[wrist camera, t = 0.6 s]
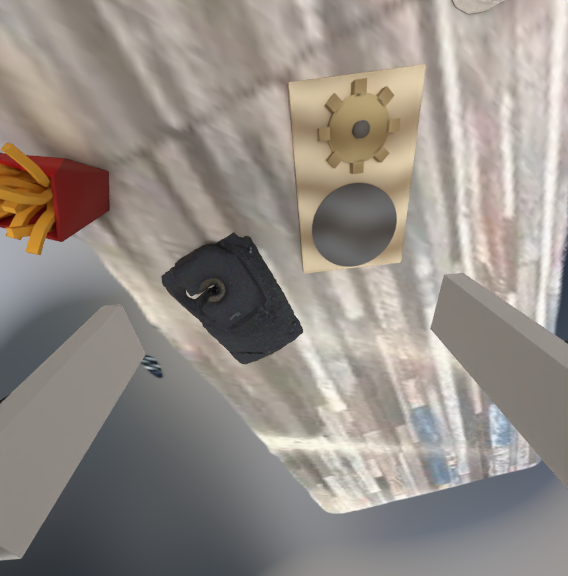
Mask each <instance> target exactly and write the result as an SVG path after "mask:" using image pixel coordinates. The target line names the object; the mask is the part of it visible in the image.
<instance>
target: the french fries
mask: <svg viewBox="0 0 568 576" xmlns="http://www.w3.org/2000/svg"><path fill="white" fill-rule="evenodd" d="M1 150H2V151H3V152H5V153H6V154H3V153H0V227H2V228H6V229H7V233H6V236H8V237H11V238H15V239H19V240H21V238H22V237H26V236H30V238H29V241H28V245H27V248H26V252H28V253H32V254H37V255H41V251H42V248H43V244H44V241H45V238H48V239H52V240H55V241H60V242H63V241H64V240H66V239H67V238H69V237H70V236H72V235H73V234H75V233H76V232H78V231H79V230H81V229H82V228H84V227H85V226H87V225H88V224H90V223H91V222H93V221H94V220H96V219H97V218H99V217H100V216H102V215H103V214H105V213H106V212H108V211H109V171H105V170H102V169H99V168H95V167H92V166H89V165H85V164H82V163H79V162H75V161H72V160H68V159H65V158H53V157H41V156H28V155H25V154H24V153H23V152H21V151H20V150H19V149H18V148H16V147H15V146H14V145H13V144H10V143H6V144H5V145H4V146H3V147H2V148H1Z"/></svg>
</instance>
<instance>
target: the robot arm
mask: <svg viewBox="0 0 568 576" xmlns="http://www.w3.org/2000/svg"><path fill="white" fill-rule="evenodd" d="M431 330H432V331H433V332H434V333H435V335H436V336H437V337H438V338H439V339H440V340H441V342H442V343H443V344H444V345H445V346H446V347H447V349H448V350H449V351H450V352H451V353H452V354H453V356H454V357H455V358H456V359H457V360H458V361H459V363H460V364H461V365H462V366H463V367H464V368H465V370H466V371H467V372H468V373H469V374H470V376H471V377H472V378H473V379H474V380H475V381H476V383H477V384H478V385H479V386H480V387H481V388H482V390H483V391H484V392H485V393H486V394H487V395H488V397H489V398H490V399H491V400H492V401H493V402H494V404H495V405H496V406H497V407H498V408H499V409H500V411H501V412H502V413H503V414H504V415H505V416H506V418H507V419H508V420H509V421H510V422H511V423H512V425H513V426H514V427H515V428H516V429H517V431H518V432H519V433H520V434H521V435H522V436H523V438H524V439H525V440H526V441H527V442H528V443H529V445H530V446H531V447H532V448H533V449H534V450H535V452H536V453H537V454H538V455H539V456H540V457H541V459H542V460H543V461H544V462H545V463H546V464H547V466H548V467H549V468H550V469H551V470H552V471H553V473H554V474H555V475H556V476H557V477H558V478H559V480H560V481H561V482H562V483H563V484H564V485H565V487H566V488H567V489H568V341H563V340H561V339H560V338H558V337H557V336H556V335H554V334H553V333H551V332H550V331H548V330H547V329H545V328H544V327H542V326H541V325H539V324H538V323H536V322H535V321H533V320H532V319H530V318H529V317H527V316H526V315H524V314H523V313H522V312H520V311H519V310H517V309H516V308H514V307H513V306H511V305H510V304H508V303H507V302H505V301H504V300H502V299H501V298H499V297H498V296H496V295H495V294H493V293H492V292H490V291H489V290H488V289H486V288H485V287H483V286H482V285H480V284H479V283H477V282H476V281H474V280H473V279H471V278H470V277H468V276H467V275H465V274H464V273H459V274H448V275H444V278H443V281H442V285H441V289H440V293H439V297H438V301H437V305H436V309H435V313H434V317H433V321H432V325H431ZM144 356H145V352H144V350H143V348H142V346H141V344H140V342H139V340H138V338H137V336H136V333H135V332H134V329H133V327H132V325H131V323H130V321H129V319H128V317H127V315H126V313H125V311H124V308H123V306H122V305H121V304H120V305H109V306H103V307H102V308H100V309H99V310H98V311H97V313H95V314H94V315H93V316H92V317H91V318H90V319H89V320H88V321H87V322H86V323H85V324H84V325H83V326H81V327H80V328H79V330H77V331H76V332H75V333H74V334H73V335H72V336H71V337H70V338H69V339H68V340H67V341H66V342H65V343H64V344H63V345H62V346H60V347H59V348H58V349H57V350H56V351H55V352H54V353H53V354H52V355H51V356H50V357H49V358H48V359H47V360H46V361H45V362H44V363H43V364H42V365H41V366H39V367H38V368H37V369H36V370H35V371H34V372H33V373H32V374H31V375H30V376H29V377H28V378H27V379H26V380H25V381H24V382H23V383H22V384H20V386H18V387H17V388H16V389H15V390H14V391H13V392H12V393H11V394H9V395H8V396H6V397H5V398H3V399H2V400H0V560H7V559H20V558H22V556H23V555H24V553H25V552H26V550H27V548H28V546H29V545H30V543H31V541H32V540H33V538H34V537H35V535H36V533H37V532H38V530H39V528H40V527H41V525H42V524H43V522H44V520H45V519H46V517H47V515H48V514H49V512H50V510H51V509H52V507H53V505H54V504H55V502H56V501H57V499H58V497H59V496H60V494H61V492H62V490H63V489H64V487H65V486H66V484H67V482H68V481H69V479H70V478H71V476H72V474H73V473H74V471H75V469H76V468H77V466H78V464H79V463H80V461H81V459H82V458H83V456H84V455H85V453H86V451H87V450H88V448H89V446H90V445H91V443H92V441H93V440H94V438H95V436H96V435H97V433H98V431H99V430H100V428H101V426H102V425H103V423H104V421H105V420H106V418H107V417H108V415H109V413H110V412H111V410H112V408H113V406H114V405H115V403H116V402H117V400H118V398H119V397H120V395H121V394H122V392H123V390H124V389H125V387H126V385H127V384H128V382H129V380H130V379H131V377H132V376H133V374H134V372H135V371H136V369H137V367H138V366H139V364H140V362H141V361H142V359H143V357H144Z"/></svg>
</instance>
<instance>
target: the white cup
mask: <svg viewBox="0 0 568 576" xmlns="http://www.w3.org/2000/svg"><path fill="white" fill-rule="evenodd" d="M502 1H505V0H453V2H454V4H455V6H456V7H457V8H459V9H460V10H462V11H464V12H466V13H467V14H472V13H478V12H484V11H486V10H488V9H490V8H491V7H493V6H495V5H497V4H498V3H500V2H502Z"/></svg>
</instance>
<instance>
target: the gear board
mask: <svg viewBox="0 0 568 576" xmlns="http://www.w3.org/2000/svg"><path fill="white" fill-rule="evenodd" d="M425 67H426V64H424V65H417V66H409V67H402V68H394V69H386V70H379V71H371V72H364V73H356V74H348V75H341V76H333V77H326V78H318V79H310V80H303V81H295V82H289V84H288V89H289V102H290V114H291V127H292V139H293V151H294V164H295V176H296V189H297V201H298V213H299V226H300V238H301V251H302V263H303V271H304V273H312V272H321V271H330V270H338V269H347V268H356V267H364V266H373V265H382V264H390V263H399V262H401V257H402V249H403V241H404V233H405V225H406V217H407V209H408V201H409V193H410V185H411V178H412V170H413V162H414V154H415V146H416V138H417V130H418V122H419V114H420V106H421V99H422V91H423V83H424V75H425Z"/></svg>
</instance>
